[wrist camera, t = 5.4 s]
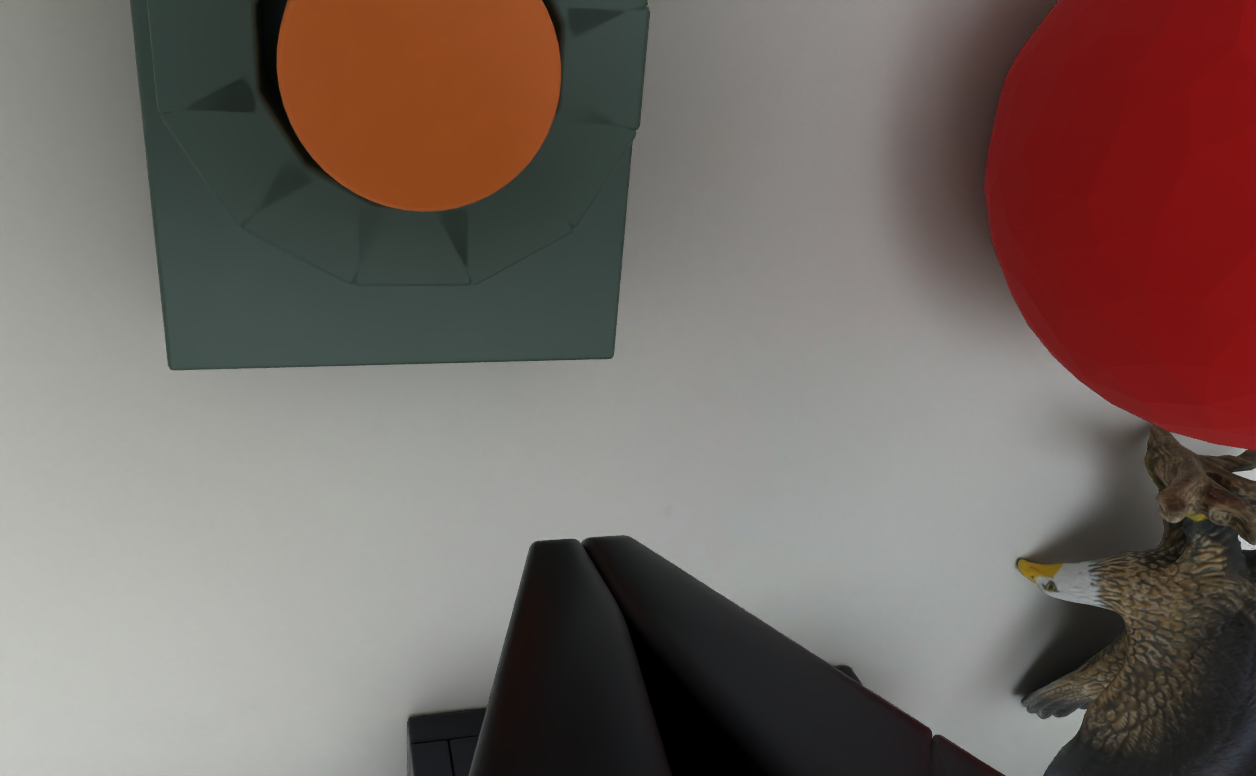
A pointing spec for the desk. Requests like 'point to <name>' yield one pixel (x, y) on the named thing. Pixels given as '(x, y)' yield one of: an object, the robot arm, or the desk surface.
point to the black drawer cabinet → (456, 741)
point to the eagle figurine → (1167, 632)
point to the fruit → (1137, 205)
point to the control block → (376, 211)
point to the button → (420, 94)
